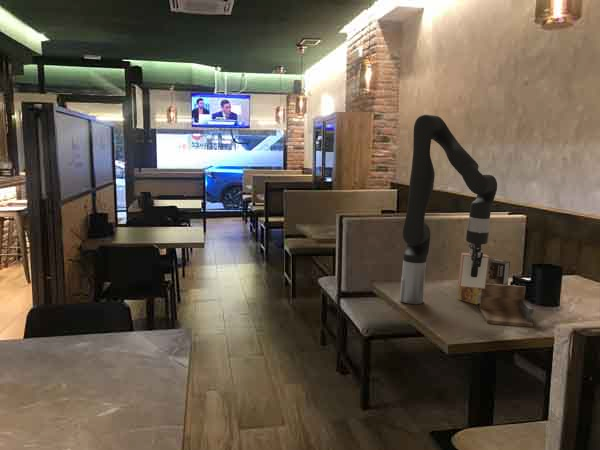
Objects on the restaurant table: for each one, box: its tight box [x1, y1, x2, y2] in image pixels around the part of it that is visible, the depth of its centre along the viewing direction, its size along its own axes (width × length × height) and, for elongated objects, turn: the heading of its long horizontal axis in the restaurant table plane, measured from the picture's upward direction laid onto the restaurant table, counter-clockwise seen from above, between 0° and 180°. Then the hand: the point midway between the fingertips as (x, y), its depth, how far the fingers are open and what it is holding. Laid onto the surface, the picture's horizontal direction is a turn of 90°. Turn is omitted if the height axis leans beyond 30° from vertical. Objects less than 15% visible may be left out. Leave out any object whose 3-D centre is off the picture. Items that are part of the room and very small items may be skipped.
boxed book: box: [457, 252, 490, 289], centre depth 180 cm, size 9×4×12 cm, turn 81°
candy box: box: [457, 285, 481, 305], centre depth 204 cm, size 9×4×15 cm, turn 44°
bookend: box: [478, 283, 534, 328], centre depth 185 cm, size 16×14×11 cm
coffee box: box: [486, 257, 511, 285], centre depth 211 cm, size 9×6×16 cm
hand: (472, 274), depth 181 cm, fingers closed on boxed book, 4 cm apart
